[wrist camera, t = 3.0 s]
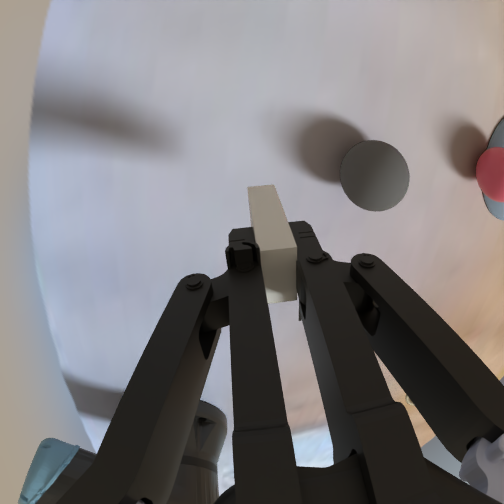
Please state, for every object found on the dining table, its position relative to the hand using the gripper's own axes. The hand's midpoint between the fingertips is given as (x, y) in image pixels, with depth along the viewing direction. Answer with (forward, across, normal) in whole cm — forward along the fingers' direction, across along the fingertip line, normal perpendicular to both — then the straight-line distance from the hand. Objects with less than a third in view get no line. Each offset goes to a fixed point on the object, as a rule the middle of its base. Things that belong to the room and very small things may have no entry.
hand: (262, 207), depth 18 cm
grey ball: (+5, -9, 0) cm, 10 cm away
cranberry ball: (+5, -24, 0) cm, 25 cm away
